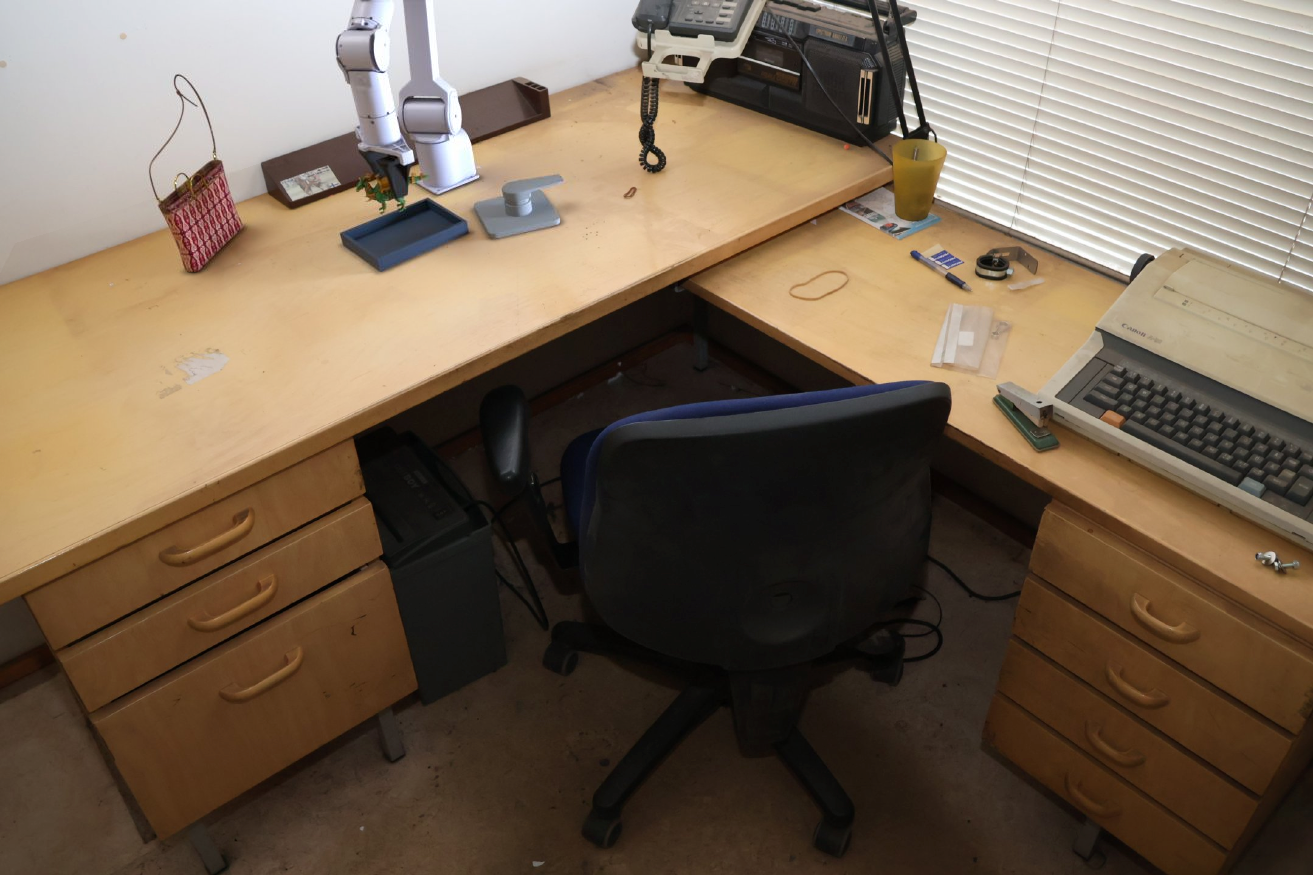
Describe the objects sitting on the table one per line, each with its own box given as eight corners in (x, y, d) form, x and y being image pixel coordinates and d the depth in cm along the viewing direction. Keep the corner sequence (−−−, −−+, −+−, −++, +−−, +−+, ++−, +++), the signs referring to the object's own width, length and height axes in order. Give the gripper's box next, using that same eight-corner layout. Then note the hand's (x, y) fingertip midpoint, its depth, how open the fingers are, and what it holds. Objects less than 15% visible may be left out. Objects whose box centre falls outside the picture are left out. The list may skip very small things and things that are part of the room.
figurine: (361, 211, 165) (349, 165, 159) (434, 197, 167) (424, 151, 162) (363, 219, 162) (351, 173, 157) (437, 206, 165) (427, 159, 159)
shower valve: (573, 191, 167) (485, 210, 163) (576, 220, 171) (490, 240, 167) (551, 161, 176) (467, 179, 172) (554, 190, 180) (473, 208, 176)
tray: (430, 209, 176) (427, 197, 175) (469, 233, 169) (467, 220, 168) (342, 245, 168) (339, 232, 166) (379, 271, 161) (376, 259, 159)
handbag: (261, 214, 177) (214, 73, 161) (197, 276, 162) (139, 128, 146) (223, 211, 179) (174, 72, 162) (157, 273, 163) (95, 125, 147)
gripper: (330, 105, 156) (350, 186, 165) (377, 132, 148) (396, 215, 157) (369, 92, 160) (388, 172, 169) (418, 118, 151) (435, 200, 160)
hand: (394, 192), depth 163 cm, fingers closed on figurine, 3 cm apart
